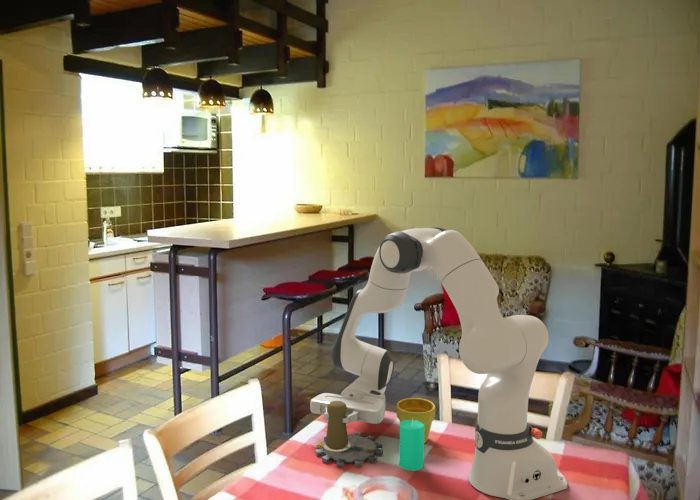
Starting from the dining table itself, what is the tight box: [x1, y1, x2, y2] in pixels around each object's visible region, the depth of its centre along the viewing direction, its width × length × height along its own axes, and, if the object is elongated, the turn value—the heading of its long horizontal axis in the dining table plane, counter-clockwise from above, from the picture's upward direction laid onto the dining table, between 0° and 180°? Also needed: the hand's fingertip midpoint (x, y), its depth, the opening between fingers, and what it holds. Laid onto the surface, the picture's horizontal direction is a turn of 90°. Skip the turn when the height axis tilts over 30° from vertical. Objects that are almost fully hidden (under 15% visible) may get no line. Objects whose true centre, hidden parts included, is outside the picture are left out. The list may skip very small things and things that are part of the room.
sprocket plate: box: [314, 432, 384, 468], centre depth 156 cm, size 18×18×1 cm
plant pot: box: [395, 397, 436, 444], centre depth 162 cm, size 10×10×10 cm
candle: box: [398, 418, 425, 472], centre depth 148 cm, size 6×6×12 cm
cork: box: [324, 401, 348, 448], centre depth 156 cm, size 6×6×11 cm
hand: (335, 419), depth 155 cm, fingers closed on cork, 4 cm apart
